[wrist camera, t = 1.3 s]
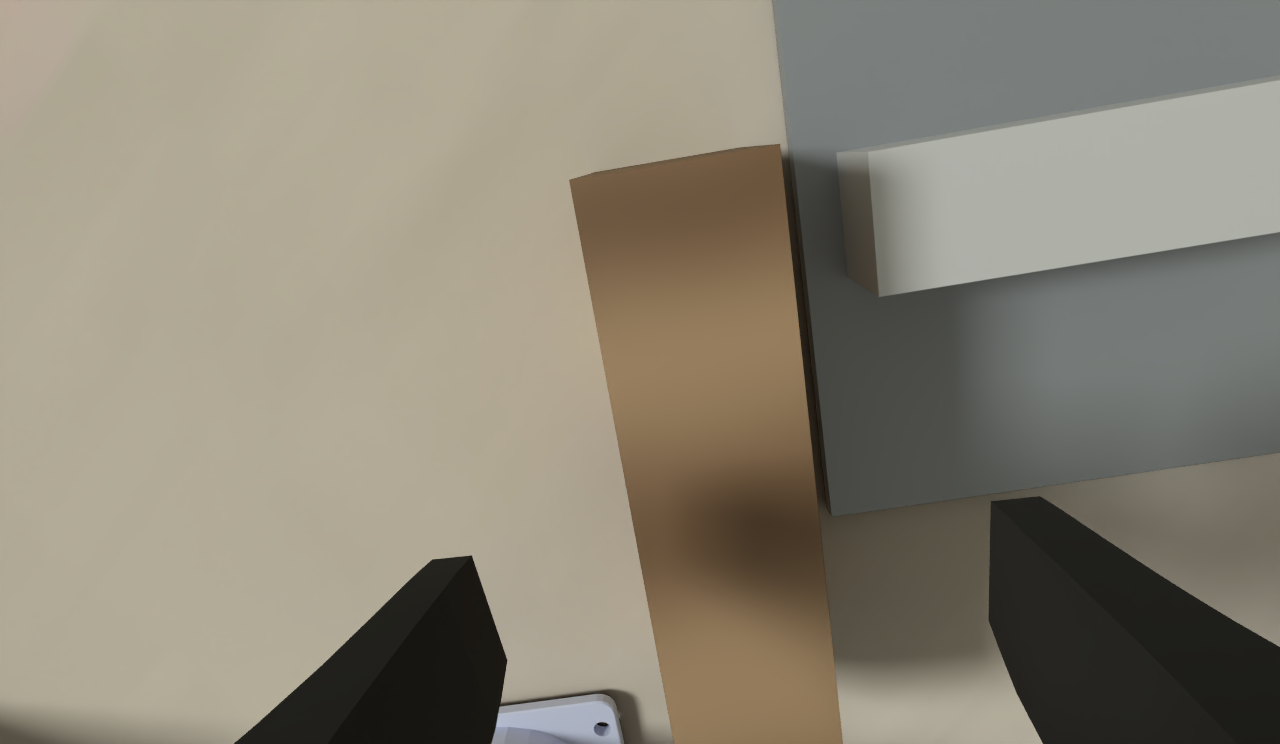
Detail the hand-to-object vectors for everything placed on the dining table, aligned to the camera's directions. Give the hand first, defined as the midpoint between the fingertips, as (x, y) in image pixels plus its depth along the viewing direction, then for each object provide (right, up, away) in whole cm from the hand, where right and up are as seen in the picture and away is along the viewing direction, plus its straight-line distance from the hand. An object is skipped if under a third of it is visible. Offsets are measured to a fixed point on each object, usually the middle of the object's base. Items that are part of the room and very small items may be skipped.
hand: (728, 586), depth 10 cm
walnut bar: (+1, +2, +10) cm, 10 cm away
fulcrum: (+9, +8, +8) cm, 14 cm away
